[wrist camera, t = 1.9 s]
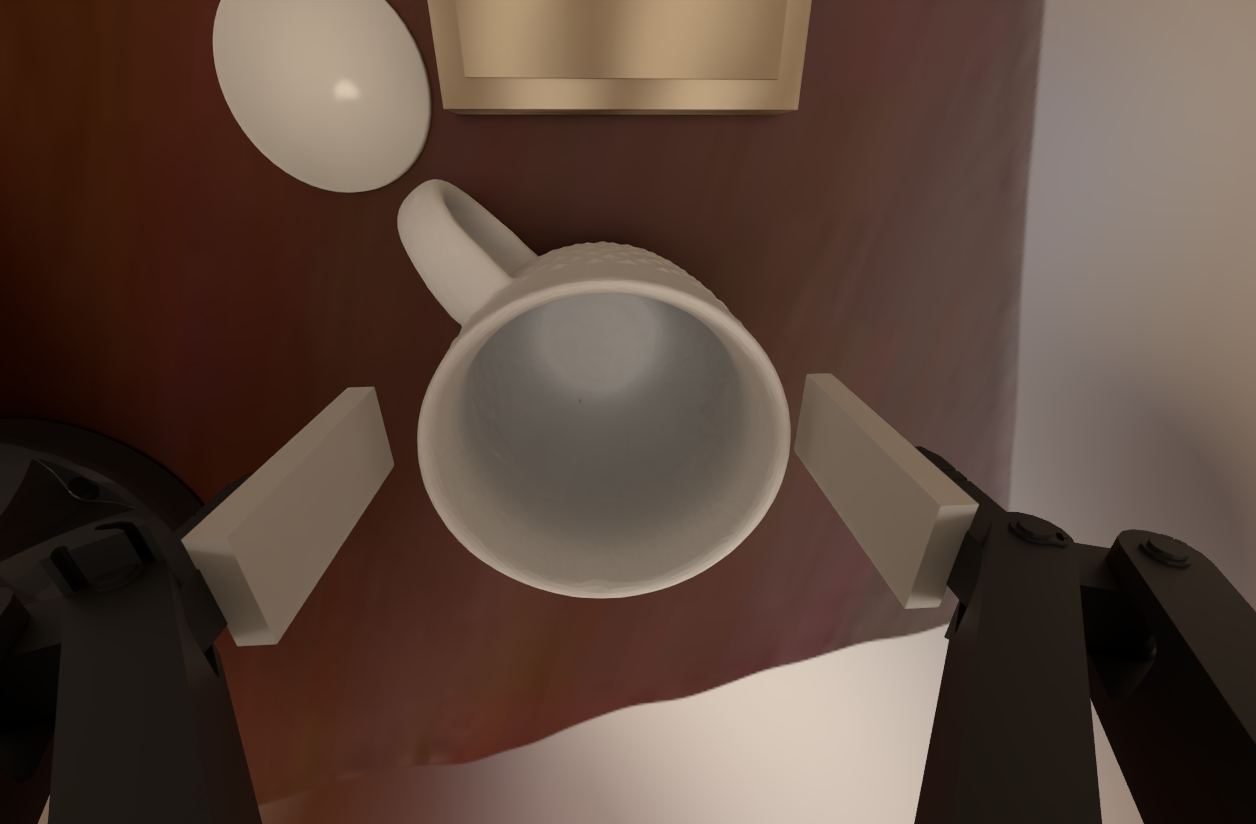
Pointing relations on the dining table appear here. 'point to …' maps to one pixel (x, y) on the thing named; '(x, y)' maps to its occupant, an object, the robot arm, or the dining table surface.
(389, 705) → the dining table surface
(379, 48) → the white oval dome
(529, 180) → the dining table surface
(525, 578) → the mug
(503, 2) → the base
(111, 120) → the dining table surface
